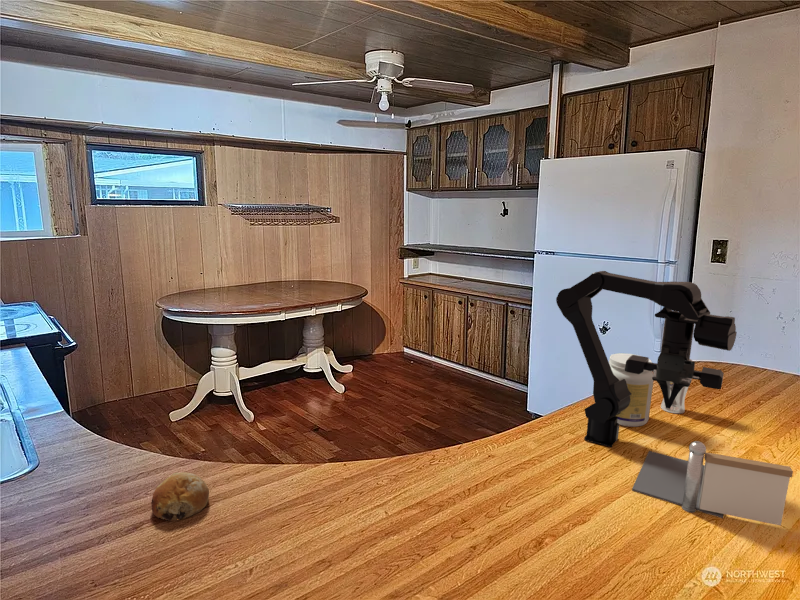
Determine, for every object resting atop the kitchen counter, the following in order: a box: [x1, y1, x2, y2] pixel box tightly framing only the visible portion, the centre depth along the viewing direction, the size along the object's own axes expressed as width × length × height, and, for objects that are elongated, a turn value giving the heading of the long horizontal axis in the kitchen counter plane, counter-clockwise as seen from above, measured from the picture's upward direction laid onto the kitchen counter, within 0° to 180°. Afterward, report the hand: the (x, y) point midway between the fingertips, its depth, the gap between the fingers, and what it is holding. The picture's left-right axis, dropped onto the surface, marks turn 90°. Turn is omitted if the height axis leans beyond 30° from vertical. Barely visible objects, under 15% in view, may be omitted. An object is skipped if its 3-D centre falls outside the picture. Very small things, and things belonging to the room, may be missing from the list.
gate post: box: [681, 440, 707, 514], centre depth 99 cm, size 3×3×14 cm
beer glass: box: [660, 358, 693, 415], centre depth 147 cm, size 7×7×15 cm
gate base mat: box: [631, 450, 725, 519], centre depth 110 cm, size 16×20×1 cm
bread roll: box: [150, 471, 210, 521], centre depth 98 cm, size 10×10×8 cm
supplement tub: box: [608, 352, 654, 428], centre depth 140 cm, size 12×12×17 cm
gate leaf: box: [699, 451, 794, 526], centre depth 96 cm, size 13×2×11 cm, turn 69°
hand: (668, 407), depth 116 cm, fingers closed
